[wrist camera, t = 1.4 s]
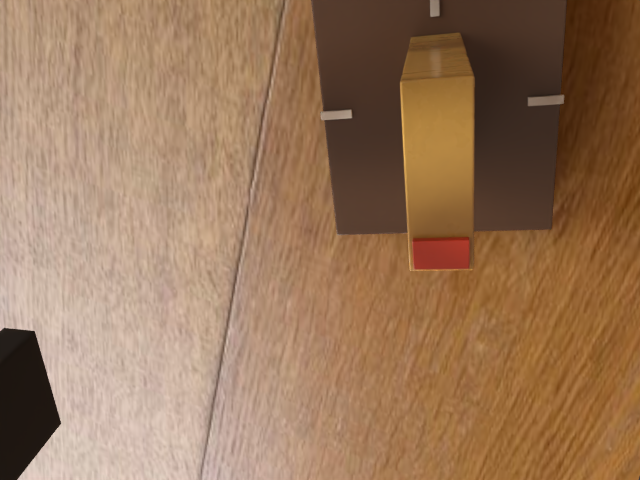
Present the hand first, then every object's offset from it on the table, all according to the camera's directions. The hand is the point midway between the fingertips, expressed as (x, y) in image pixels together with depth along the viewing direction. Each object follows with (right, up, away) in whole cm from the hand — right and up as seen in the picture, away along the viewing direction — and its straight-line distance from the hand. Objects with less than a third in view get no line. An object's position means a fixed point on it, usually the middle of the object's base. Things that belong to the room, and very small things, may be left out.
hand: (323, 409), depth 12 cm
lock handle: (+5, +9, +13) cm, 16 cm away
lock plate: (+5, +11, +15) cm, 19 cm away
